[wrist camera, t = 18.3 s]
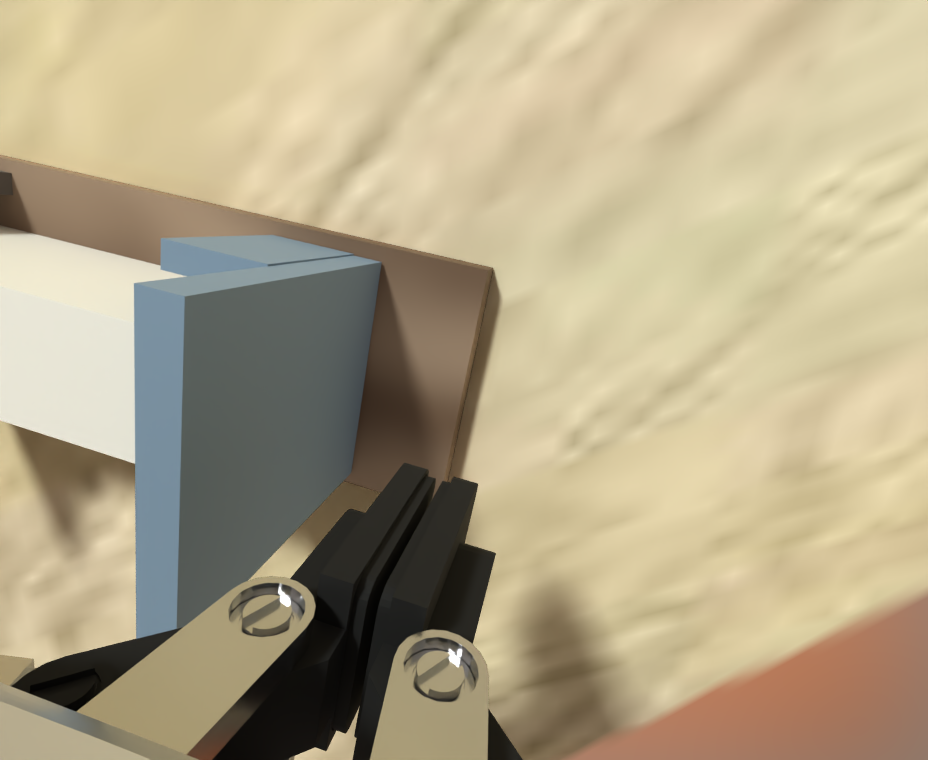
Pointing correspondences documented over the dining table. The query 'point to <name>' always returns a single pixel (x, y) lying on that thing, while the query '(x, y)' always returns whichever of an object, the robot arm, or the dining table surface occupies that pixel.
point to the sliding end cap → (240, 408)
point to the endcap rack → (402, 270)
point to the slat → (69, 340)
